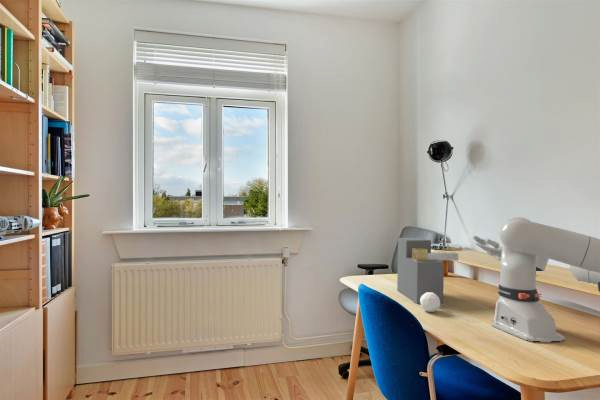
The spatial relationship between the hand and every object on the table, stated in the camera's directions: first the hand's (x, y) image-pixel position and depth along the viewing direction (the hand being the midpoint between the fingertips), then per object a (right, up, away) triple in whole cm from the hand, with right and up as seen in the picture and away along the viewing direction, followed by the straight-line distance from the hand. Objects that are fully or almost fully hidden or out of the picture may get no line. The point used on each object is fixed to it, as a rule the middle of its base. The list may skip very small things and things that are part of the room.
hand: (479, 238), depth 164 cm
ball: (-30, -28, -19) cm, 45 cm away
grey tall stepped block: (-27, -27, +2) cm, 39 cm away
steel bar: (-21, -9, -2) cm, 23 cm away
